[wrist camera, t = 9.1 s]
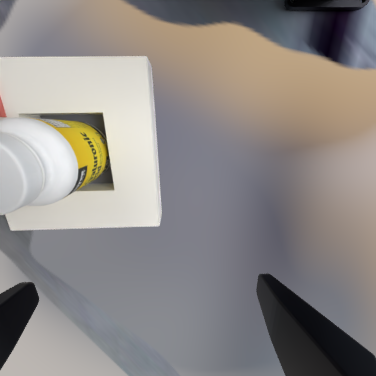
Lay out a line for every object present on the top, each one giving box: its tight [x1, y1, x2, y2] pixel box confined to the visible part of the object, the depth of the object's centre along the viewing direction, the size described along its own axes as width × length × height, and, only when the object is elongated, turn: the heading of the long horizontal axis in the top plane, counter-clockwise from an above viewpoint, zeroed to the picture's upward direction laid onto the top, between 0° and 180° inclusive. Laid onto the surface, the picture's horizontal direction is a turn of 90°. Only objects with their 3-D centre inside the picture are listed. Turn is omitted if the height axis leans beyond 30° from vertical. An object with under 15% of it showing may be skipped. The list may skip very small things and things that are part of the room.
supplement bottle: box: [0, 118, 110, 215], centre depth 13 cm, size 5×5×10 cm
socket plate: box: [0, 56, 162, 231], centre depth 16 cm, size 14×14×3 cm
